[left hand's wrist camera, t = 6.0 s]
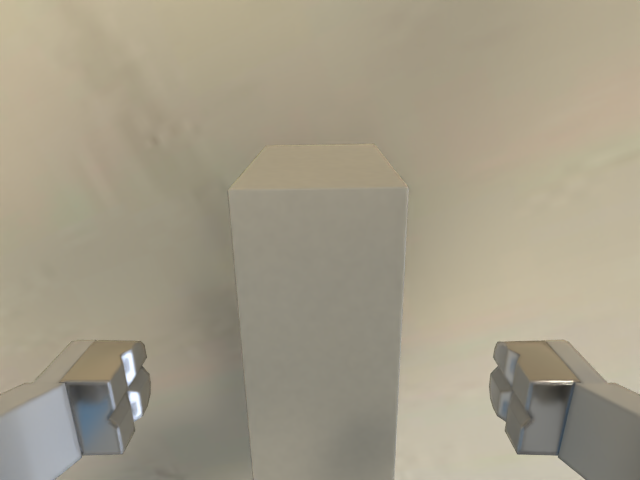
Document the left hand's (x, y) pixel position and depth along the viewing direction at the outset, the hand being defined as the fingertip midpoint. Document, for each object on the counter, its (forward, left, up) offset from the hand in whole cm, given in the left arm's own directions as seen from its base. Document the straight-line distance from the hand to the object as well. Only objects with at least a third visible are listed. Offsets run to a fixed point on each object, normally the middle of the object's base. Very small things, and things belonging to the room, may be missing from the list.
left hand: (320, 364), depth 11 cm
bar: (+8, 0, -12) cm, 14 cm away
